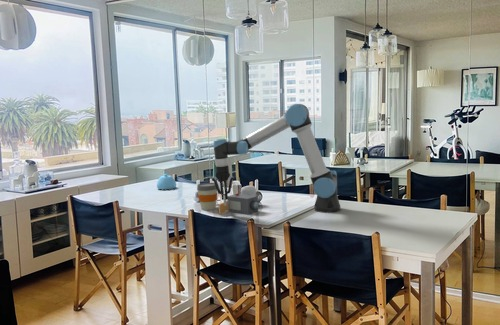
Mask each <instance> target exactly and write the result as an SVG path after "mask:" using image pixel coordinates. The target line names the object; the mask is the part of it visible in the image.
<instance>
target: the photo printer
mask: <svg viewBox="0 0 500 325" xmlns="http://www.w3.org/2000/svg"><path fill="white" fill-rule="evenodd" d="M240 194H245V195H253V196H257V188H256V186H254V185H246V186H243V187H241V188H240Z"/></svg>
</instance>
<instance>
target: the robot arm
mask: <svg viewBox="0 0 500 325" xmlns="http://www.w3.org/2000/svg"><path fill="white" fill-rule="evenodd" d="M312 124H313V123H312V121H311V118H310V110H309V108H308V107H307V106H306V105H304V104H302V103H294V104H291V105H289V106H288V107H287V109H286V111H285V112H284V113H283V115H281V116H280V117H278V118H277V119H274V120H273V121H272V122H270V123H268V124H266V125H264V126H262V127H261V128H259V129H258V130H256V131H254V132H252V133H250V134H249V135H247V136H245V137H243V138H242V139H241V138H240V139H239V140H237V141H227V139H226V138H215V139H214V140H213V151H214V152H213V153H214V164H215V176H214V177H212V178H211V180H212V181H213V183H215V186H216V189H217V195H218V194H219V195H220V197H221V201H223V202H224V206H226V205H227V203H226V201H227V200H228V196H229V195H228V194H230V193H231V190H232V184H233V181H234V178H235V176H232V175H231V174H230V169H229V159H228V156H237V155H239V156H242V155H246V154H248V152H249V150H251V149H252V148H254V147H256V146H258V145H260V144H261V143H263V142H265V141H267V140H269V139H270V138H272V137H274V136H277V135H278V134H279V133H281V132H284V131H286V130H287V129H288V128H290V129H291V132H293V133H294V134H295V135H296V138H297V140H298V141H299V142H298V143H299V145H300V147H301V150H302V152H303V155H304V159H305V160H306V163H307V166H308V168H309V170H310V174H311V175H310V177H309V178H310V180H311V183H312V188H313V192H314V194H316V199H315V202H314V211H315V212H319V213H336V212H340V211H341V203H340V201H339V198H338V174H337V171H336V170H330V169H329V168H327V167H326V164H325V160H324V158H323V156H322V154H321V151H320V147H319V146H318V144H317V141H316V139H315V135H314V134H313V131H312V128H311V127H312ZM217 180H218V181H219V183H218V181H217ZM228 180H229V182H228Z"/></svg>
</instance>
